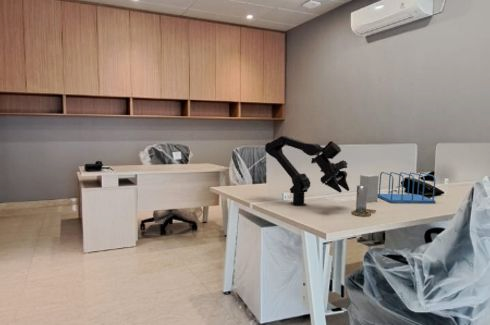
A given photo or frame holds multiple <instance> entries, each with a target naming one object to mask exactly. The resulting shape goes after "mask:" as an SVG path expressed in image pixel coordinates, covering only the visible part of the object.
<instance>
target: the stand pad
mask: <svg viewBox="0 0 490 325" xmlns="http://www.w3.org/2000/svg"><path fill="white" fill-rule="evenodd" d="M366 211H369V212H371V215H372V214H373V215H374V214H376V212H377V210H376V209H370V208H369V209H368V208H366Z"/></svg>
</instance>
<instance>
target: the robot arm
mask: <svg viewBox="0 0 490 325" xmlns="http://www.w3.org/2000/svg"><path fill="white" fill-rule="evenodd" d="M285 146H287V147H288V146H289V147H291V148H294V149H297V150H300V151H302V152H303V154H306V155H308V156H309V157H311V162H310V163H311V164H313V165H314V164H317V166H318V167H319V169H320V170H319V171H320V173H323V175H322V176H321V177H320V180H319V181H320V182H321V184H322V185H325V186H327V187H329V188H331V189H333V190H335V191H336V192H338V193H342V188H343V190H346V191H347V192H349V191H350V187H349V185H348V181H347V177H348V173H347V171H346V170H343V169H347V168H348V162H346V161H345V160H344V159H343V160H340V161H338V162H335V163H334V162H331V161H330V159H331V160H333V159H334V158H335V157H336V156H338V154H340V153H341V152H342V149H341V147H340V146H339V145H338V144H336V143H334V141H332V140H331V141H330V140H329V142H328V143H327V144H326V145H325V146H323V147H322V146H321V144H319V143H311V142H310V143H309V142H304V141H300V140H298V139H294V138H292V137H289V136H288V135H281V136H279V137H278V138H276V139H274V140H272V141H271V142H267V143H266V144H265V146H264V150H265V152H266V153H267V154H268V155H269V156H271V157H272V158H274V159H275V160H276V161H277V162H278V163H279V165H280V166H281V167H282V168H283V170H284V171H285V172H286V173H287V174H288V175H289V177H290V178H291V182H292V183H291V184H292V186H291V187H290V188H289V192H290V193H291V194H292V201H291V202H290V203H291V204H292V205H293V206H307V203H305V193H307V192H308V191H309V189H310V187H311V181H310V178H309V177H308V176H307V174H305V172H304V173H301V172H299V171H298V169H296V167H295V166H294V165H293V164H292V163H291V160H289V159H288V157H286V156H285V154H284V153H283V152H284V151H283V148H284V147H285ZM312 156H315V157H312Z"/></svg>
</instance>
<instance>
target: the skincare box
mask: <svg viewBox="0 0 490 325" xmlns="http://www.w3.org/2000/svg"><path fill="white" fill-rule="evenodd" d="M379 180H380V175H378V174H373V173H367V174H360V176H359V185H361V186H367V203H375V202H376V203H377V202H378V198H379V197H378V194H379Z"/></svg>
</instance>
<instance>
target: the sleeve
mask: <svg viewBox="0 0 490 325" xmlns="http://www.w3.org/2000/svg"><path fill="white" fill-rule="evenodd" d="M355 199H356V201H355V210H356V213H360V214H366V209H367V203H368V202H367V186H361V185H360V184H358V185H356V198H355Z"/></svg>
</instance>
